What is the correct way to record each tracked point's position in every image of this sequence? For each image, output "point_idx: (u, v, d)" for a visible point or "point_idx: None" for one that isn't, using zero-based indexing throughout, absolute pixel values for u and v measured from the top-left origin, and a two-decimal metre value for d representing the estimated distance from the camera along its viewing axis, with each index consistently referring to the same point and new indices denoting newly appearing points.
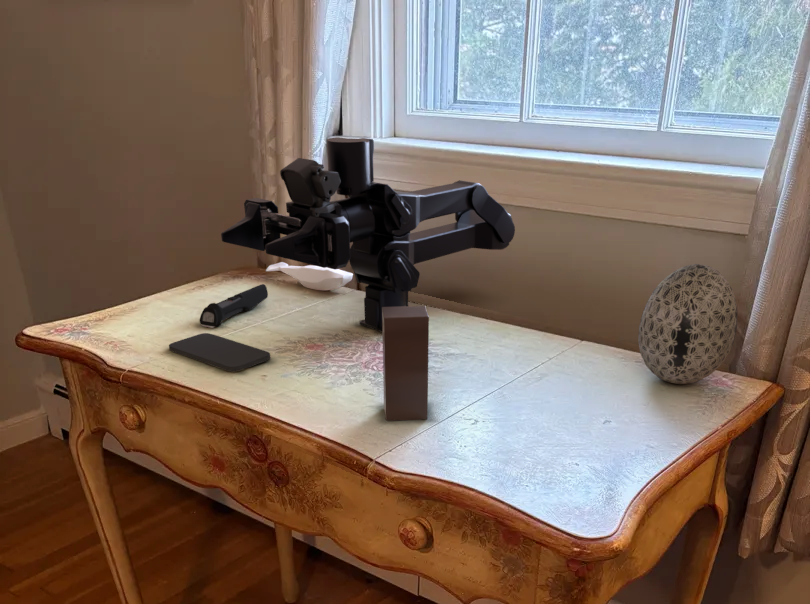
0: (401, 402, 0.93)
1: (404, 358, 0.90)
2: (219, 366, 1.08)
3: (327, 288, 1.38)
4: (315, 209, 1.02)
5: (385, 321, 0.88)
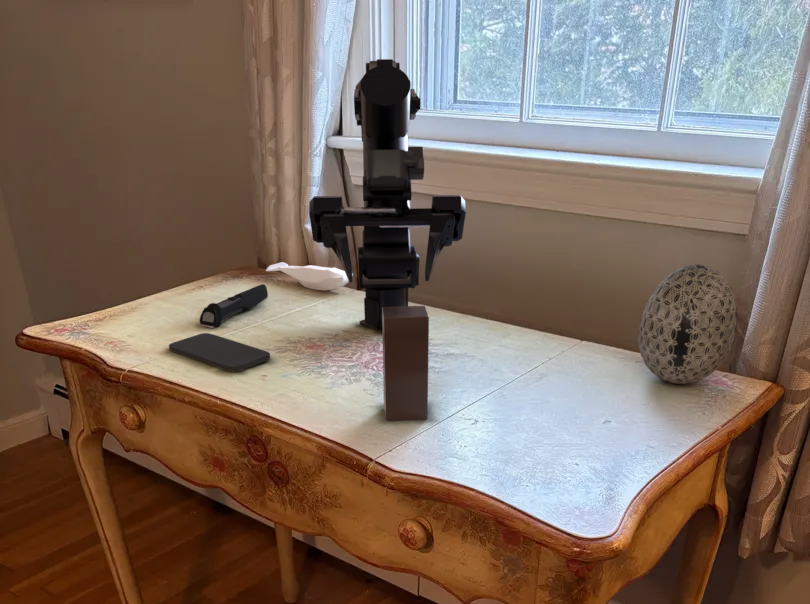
0: (401, 402, 0.93)
1: (404, 358, 0.90)
2: (219, 366, 1.08)
3: (327, 288, 1.38)
4: (411, 193, 0.94)
5: (385, 321, 0.88)
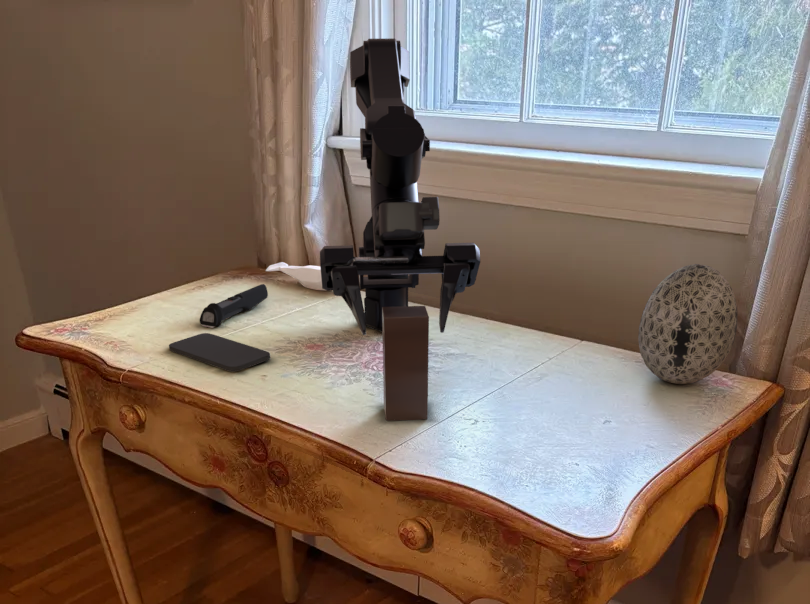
0: (401, 402, 0.93)
1: (404, 358, 0.90)
2: (219, 366, 1.08)
3: None
4: (424, 242, 0.92)
5: (385, 321, 0.88)
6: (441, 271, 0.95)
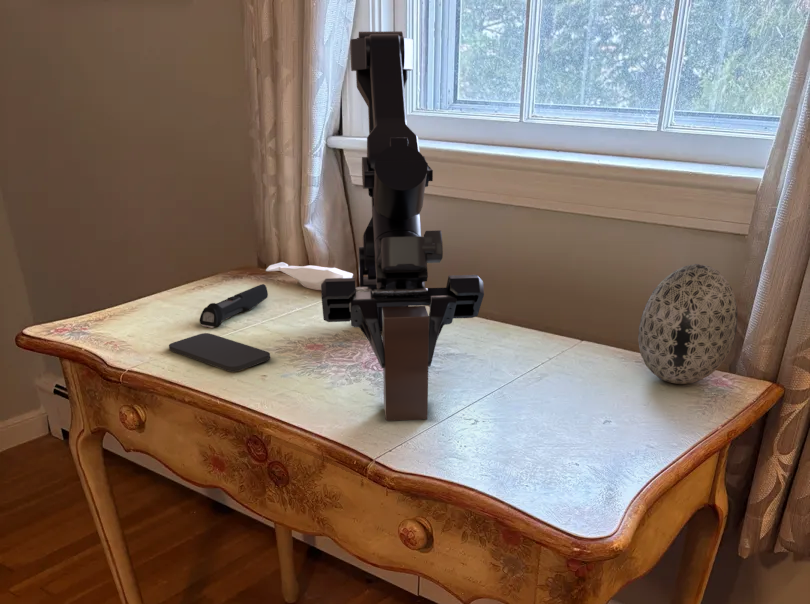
0: (401, 402, 0.93)
1: (404, 358, 0.90)
2: (219, 366, 1.08)
3: None
4: (427, 275, 0.91)
5: (385, 321, 0.88)
6: None
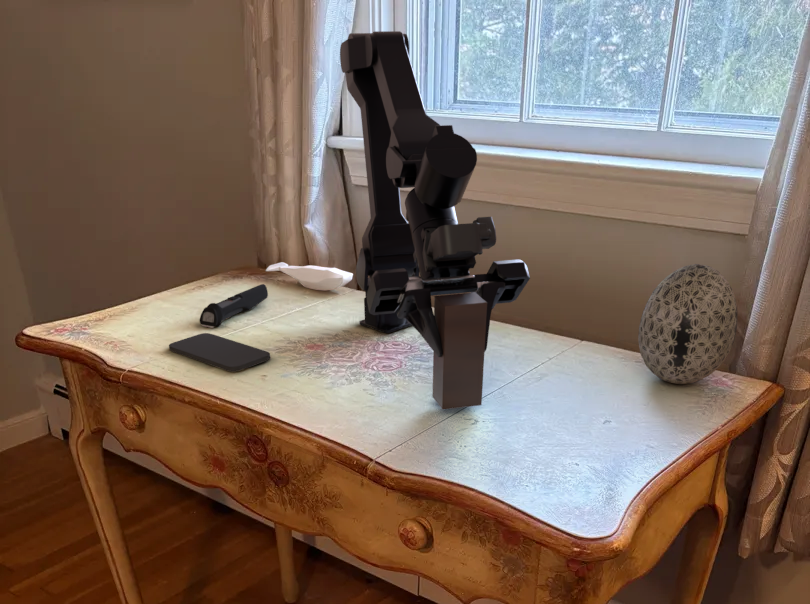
0: (458, 389, 0.94)
1: (462, 345, 0.91)
2: (219, 366, 1.08)
3: (327, 288, 1.38)
4: (475, 261, 0.91)
5: (446, 309, 0.88)
6: None
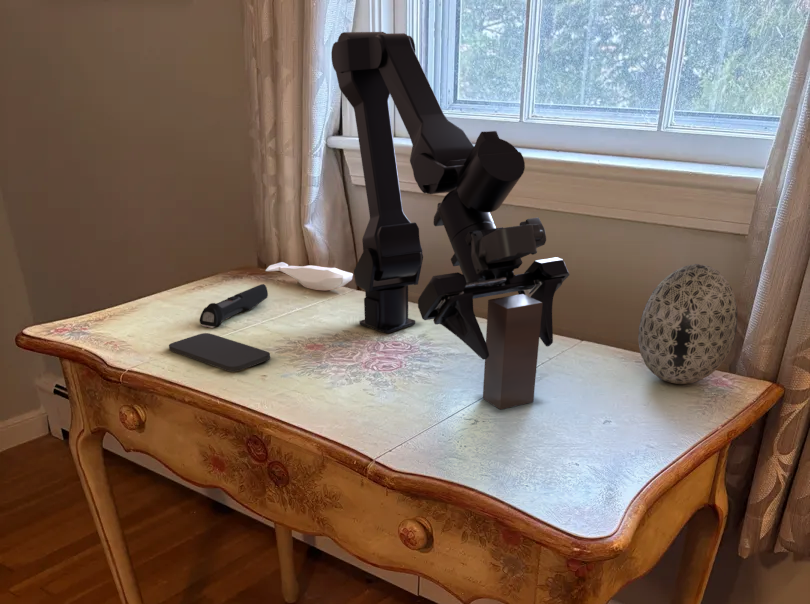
0: (514, 389, 0.97)
1: (520, 345, 0.94)
2: (219, 366, 1.08)
3: (327, 288, 1.38)
4: (521, 262, 0.94)
5: (508, 312, 0.90)
6: (529, 288, 0.98)
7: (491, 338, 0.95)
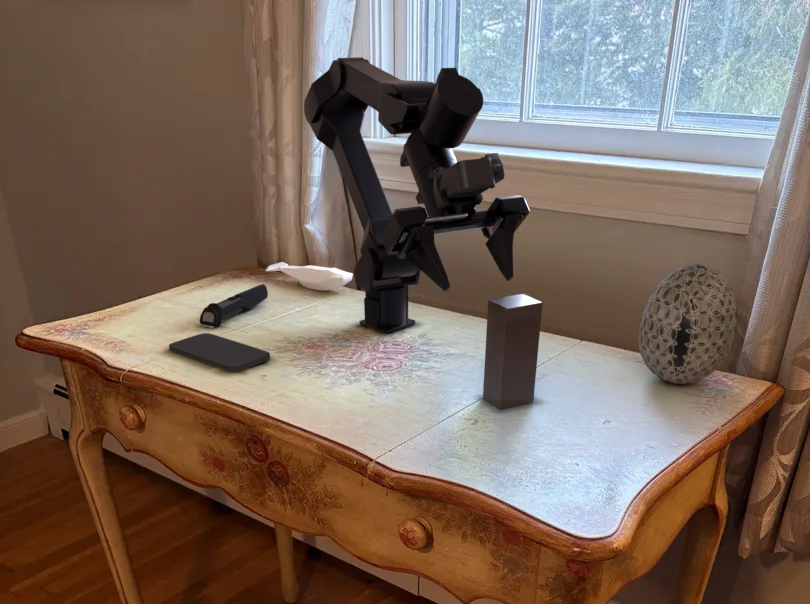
0: (514, 389, 0.97)
1: (520, 345, 0.94)
2: (219, 366, 1.08)
3: (327, 288, 1.38)
4: (482, 197, 0.98)
5: (508, 312, 0.90)
6: (491, 225, 1.01)
7: (491, 338, 0.95)
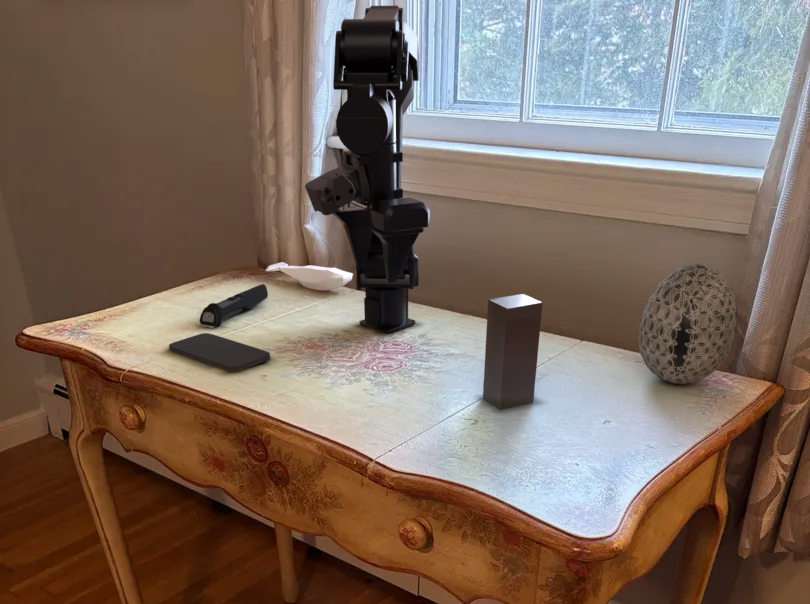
0: (514, 389, 0.97)
1: (520, 345, 0.94)
2: (219, 366, 1.08)
3: (327, 288, 1.38)
4: (362, 201, 0.96)
5: (508, 312, 0.90)
6: None
7: (491, 338, 0.95)
